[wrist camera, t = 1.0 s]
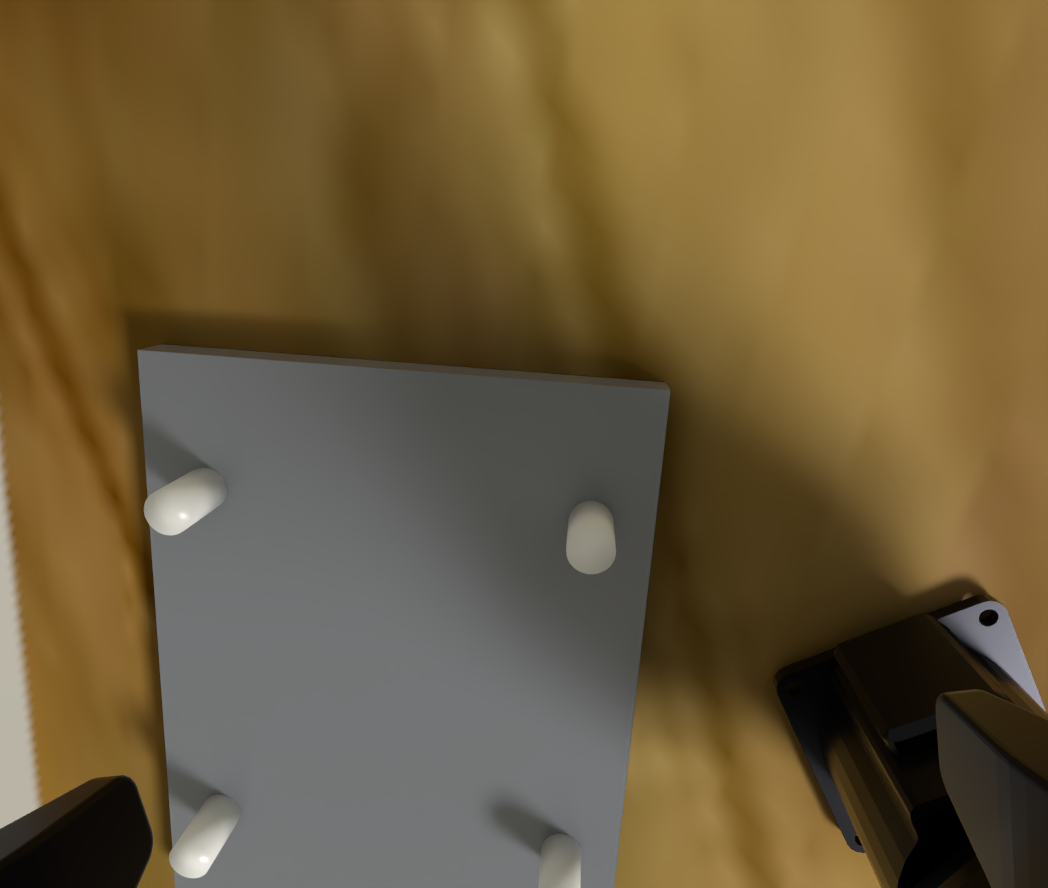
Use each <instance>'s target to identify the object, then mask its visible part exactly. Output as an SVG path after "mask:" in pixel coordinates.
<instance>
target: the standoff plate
mask: <svg viewBox="0 0 1048 888" xmlns="http://www.w3.org/2000/svg"><path fill="white" fill-rule="evenodd" d="M137 353H138V367H139V382H140V396H141V410H142V424H143V438H144V452H145V467H146V481H147V495H148V498H147V499H146V501H145V504H144V515H145V518H146V520H147V522H148V523H149V525H150V538H151V552H152V566H153V580H154V594H155V609H156V623H157V637H158V651H159V665H160V680H161V694H162V708H163V722H164V736H165V750H166V765H167V779H168V793H169V807H170V821H171V836H172V850H171V851H170V854H169V862H170V864H171V866H172V868H173V869H174V878H175V888H614V883H615V874H616V865H617V856H618V848H619V839H620V830H621V821H622V813H623V804H624V795H625V786H626V778H627V769H628V760H629V751H630V743H631V734H632V725H633V716H634V708H635V699H636V690H637V681H638V673H639V664H640V655H641V646H642V638H643V629H644V620H645V611H646V602H647V594H648V585H649V576H650V567H651V559H652V550H653V541H654V532H655V524H656V515H657V506H658V497H659V489H660V480H661V471H662V462H663V454H664V445H665V436H666V427H667V419H668V410H669V401H670V392H671V390H670V388H669V387H668V385H667V383H666V382H656V381H643V380H629V379H616V378H603V377H590V376H576V375H563V374H550V373H537V372H524V371H510V370H497V369H484V368H471V367H457V366H444V365H431V364H418V363H404V362H391V361H378V360H365V359H352V358H338V357H325V356H312V355H299V354H285V353H272V352H259V351H246V350H232V349H219V348H206V347H193V346H179V345H166V344H161V345H156V346H152V347H148V348H143V349H139V350H137Z"/></svg>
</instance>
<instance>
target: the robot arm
mask: <svg viewBox="0 0 1048 888" xmlns="http://www.w3.org/2000/svg"><path fill="white" fill-rule="evenodd" d="M989 609H991V613H990V615H989V616H988V617H987V618H985V619H980V620H979V616H980V614H981V613H982V612H983V611H985V610H989ZM792 681H797V682H800V683H799V685H798V686H797V687H796V688H794V689H788V688H786V686H787V684H788V683H790V682H792ZM773 683H774V688H775V690H776V692H777V695H778V697H779V699H780V701H781V703H782V705H783V708H784V710H785V712H786V714H787V716H788V718H789V720H790V723H791V725H792V727H793V729H794V731H795V733H796V735H797V738H798V740H799V742H800V744H801V746H802V748H803V750H804V753H805V755H806V757H807V759H808V761H809V763H810V765H811V768H812V770H813V772H814V774H815V776H816V778H817V780H818V782H819V785H820V787H821V789H822V791H823V793H824V795H825V797H826V800H827V802H828V804H829V806H830V808H831V810H832V812H833V815H834V817H835V819H836V821H837V823H838V825H839V827H840V830H841V832H842V834H843V836H844V838H845V840H846V842H847V844H848V846H849V847H850V848H851V849H852V850H854V851H856V852H862V853H864V852H865V853H866V855H867V857H868V859H869V862H870V864H871V866H872V868H873V870H874V873H875V875H876V877H877V879H878V881H879V884H880V886H881V888H1048V714H1047V713H1046V710H1045V708H1044V705H1043V702H1042V700H1041V697H1040V695H1039V692H1038V689H1037V687H1036V684H1035V682H1034V679H1033V676H1032V674H1031V671H1030V669H1029V666H1028V663H1027V661H1026V658H1025V656H1024V653H1023V650H1022V648H1021V645H1020V643H1019V640H1018V637H1017V635H1016V632H1015V630H1014V627H1013V625H1012V622H1011V619H1010V617H1009V614H1008V612H1007V610H1006V608H1005V607H1004V606H1003V605H1002V604H1001V603H1000V602H999V601H998V600H997V599H995V598H993V597H992V596H990V595H977V596H974V597H971V598H968V599H966V600H963V601H960V602H958V603H955V604H952V605H950V606H947V607H944V608H942V609H939V610H936V611H934V612H931V613H928V614H918V615H915V616H913V617H910V618H907V619H905V620H902V621H899V622H897V623H894V624H891V625H889V626H886V627H883V628H881V629H878V630H875V631H873V632H870V633H867V634H865V635H862V636H859V637H857V638H854V639H851V640H849V641H846V642H843V643H841V644H839V645H838V646H837V648H834V649H832V650H829V651H826V652H824V653H821V654H818V655H816V656H813V657H810V658H808V659H805V660H802V661H800V662H797V663H794V664H792V665H789V666H786V667H784V668H782V669H780V670H779V671H778V672H777V673H776V675H775V676H774V680H773ZM856 834H857V835H858V836H856ZM152 847H153V834H152V830H151V827H150V824H149V821H148V818H147V815H146V812H145V809H144V807H143V804H142V801H141V798H140V795H139V792H138V789H137V786H136V784H135V782H134V781H133V780H132V779H131V778H130V777H127V776H124V775H121V776H110V777H100V778H95V779H92V780H89V781H87V782H85V783H84V784H82V785H80V786H78V787H76V788H74V789H73V790H71V791H69V792H67V793H65V794H63V795H62V796H60V797H58V798H56V799H54V800H53V801H51V802H49V803H47V804H45V805H43V806H42V807H40V808H38V809H36V810H34V811H32V812H31V813H29V814H27V815H25V816H23V817H22V818H20V819H18V820H16V821H14V822H13V823H10V824H9V825H7V826H5V827H3V828H1V829H0V888H137V886H138V884H139V881H140V879H141V877H142V875H143V872H144V870H145V868H146V866H147V863H148V861H149V859H150V856H151V852H152Z"/></svg>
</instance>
